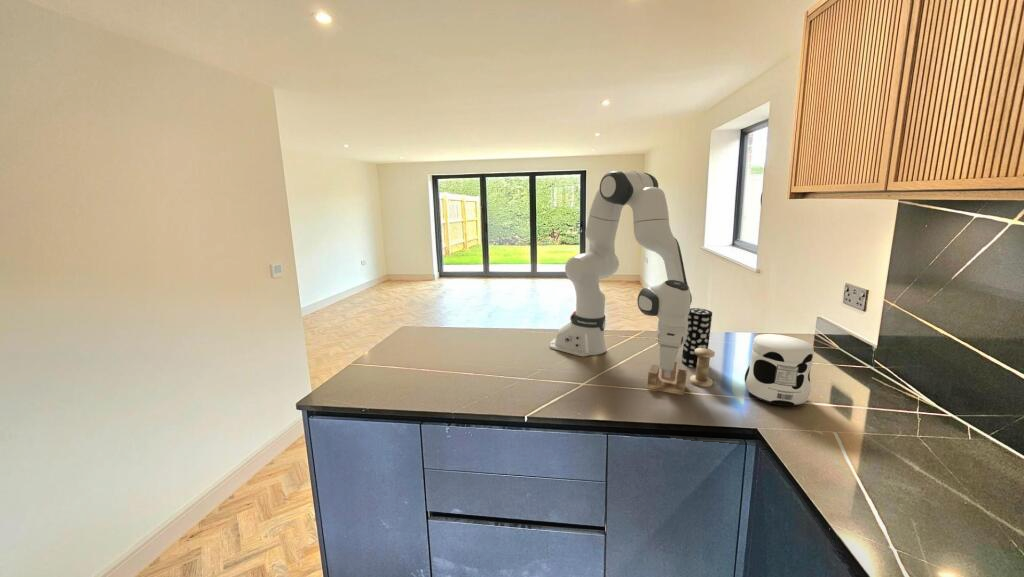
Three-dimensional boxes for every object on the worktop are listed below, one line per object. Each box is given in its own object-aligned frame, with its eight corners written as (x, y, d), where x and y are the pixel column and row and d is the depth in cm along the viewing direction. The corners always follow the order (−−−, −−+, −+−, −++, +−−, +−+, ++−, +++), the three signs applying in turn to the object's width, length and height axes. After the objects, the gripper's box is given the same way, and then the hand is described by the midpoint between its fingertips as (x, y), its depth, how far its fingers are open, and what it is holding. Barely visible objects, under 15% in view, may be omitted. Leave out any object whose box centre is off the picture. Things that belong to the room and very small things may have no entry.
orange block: (661, 379, 136) (662, 364, 135) (662, 374, 140) (663, 360, 139) (674, 381, 135) (675, 366, 134) (675, 376, 138) (676, 362, 137)
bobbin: (688, 384, 140) (692, 353, 138) (690, 376, 147) (693, 346, 144) (712, 388, 138) (716, 356, 135) (712, 380, 144) (716, 349, 141)
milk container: (768, 381, 143) (777, 330, 139) (821, 405, 128) (832, 348, 124) (730, 389, 137) (737, 336, 133) (780, 415, 122) (790, 356, 117)
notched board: (647, 388, 137) (648, 372, 136) (650, 379, 144) (651, 364, 142) (683, 395, 133) (685, 378, 132) (685, 386, 139) (686, 370, 138)
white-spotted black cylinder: (702, 370, 152) (709, 316, 147) (678, 364, 157) (684, 311, 152) (708, 362, 158) (714, 310, 154) (685, 357, 163) (690, 307, 158)
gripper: (665, 322, 144) (661, 360, 148) (657, 340, 126) (653, 383, 130) (685, 324, 142) (681, 363, 145) (680, 344, 124) (676, 388, 127)
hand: (668, 373), depth 137 cm, fingers closed on orange block, 4 cm apart
